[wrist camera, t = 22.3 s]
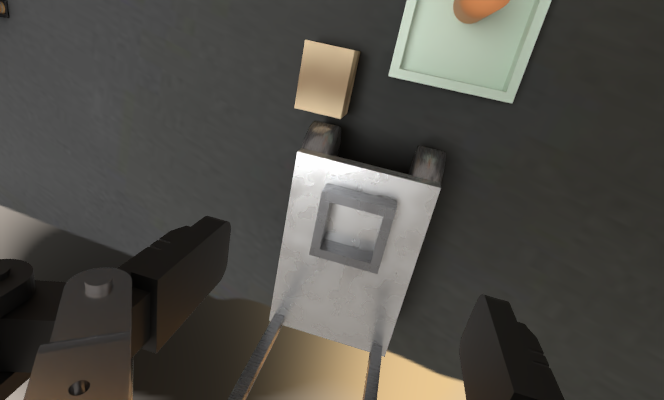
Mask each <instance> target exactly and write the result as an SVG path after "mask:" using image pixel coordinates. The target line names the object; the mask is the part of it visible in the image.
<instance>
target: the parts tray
mask: <svg viewBox="0 0 664 400" xmlns="http://www.w3.org/2000/svg"><path fill="white" fill-rule="evenodd" d="M550 3H551V0H510V1H509V3H508V4H507V5H505V6H504V7H503V8H501V9H500V10H498V11H496V12H494V13H492V14H491V15H489V16H487V17H485V18H483V19H482V20H480V21H478V22H476V23H472V24H466V23H463V22H461V21H459V20H458V19H457V18H456V16H455V14H454V11H453V4H454V0H407V2H406V6H405V10H404V14H403V18H402V22H401V26H400V30H399V35H398V39H397V43H396V47H395V51H394V55H393V59H392V63H391V67H390V71H389V75H388V76H390V77H394V78H399V79H403V80H408V81H412V82H417V83H421V84H426V85H430V86H435V87H439V88H444V89H449V90H453V91H458V92H462V93H467V94H471V95H476V96H480V97H485V98H489V99H494V100H498V101H503V102H507V103H513V100H514V98H515V95H516V93H517V90H518V87H519V85H520V82H521V79H522V77H523V74H524V71H525V69H526V66H527V64H528V61H529V58H530V56H531V53H532V50H533V48H534V45H535V42H536V40H537V37H538V35H539V32H540V29H541V27H542V24H543V21H544V19H545V16H546V13H547V11H548V8H549V6H550Z"/></svg>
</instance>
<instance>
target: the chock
mask: <svg viewBox="0 0 664 400" xmlns="http://www.w3.org/2000/svg"><path fill="white" fill-rule="evenodd" d="M359 56H360V51H355V50H351V49H346V48H342V47H337V46H332V45H328V44H323V43H319V42H314V41H309V40H305V44H304V50H303V56H302V63H301V69H300V75H299V82H298V88H297V94H296V101H295V107H294V108H297V109H301V110H305V111H309V112H313V113H318V114H322V115H326V116H330V117H334V118H338V119H341V118H342V117H344V116H345V115H346V114H347V112H348V108H349V103H350V98H351V94H352V89H353V84H354V80H355V75H356V70H357V66H358V61H359Z"/></svg>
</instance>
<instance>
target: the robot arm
mask: <svg viewBox="0 0 664 400" xmlns="http://www.w3.org/2000/svg"><path fill="white" fill-rule="evenodd" d="M230 231H231V226H230V223H229V222H227V221H224V220H220V219H217V218H213V217H210V216H205V217H204V218H202V219H201V220H200V221H198V222H197V223H195V224H194V225H193V226H191V227H189V226H184V227H181V228H178V229H175V230H172V231H170V232H168V233H167V234H166V235H164V236H163V237H161V238H160V239H159V241H158V240H157V241H156V242H154V243H153V244H151V245H150V247H147V248H146V249H144V250H143V251H141V252H140V253H138V254H137V255H136V256H134V257H133V258H131V259H130V260H128V261H127V262H125V263H124V264H123V265H121V266H120V267H118V268H117V269H116V268H95V269H90V270H87V271H84V272H81V273H79V274H77V275H75V276H73V277H72V278H71V279H69V280H68V281H67V282H52V281H38V280H35V279H34V272H33V268H32V266H31V265H30V264H29V263H27V262H24V261H22V260H16V259H0V400H5V399H6V398H7V397H8V396H9V395H11V394H12V393H13V392H14V391H15V390H16V389H17V388H18V387H20V386H21V385H22V384H23V383H24V382H25V381H26V380H28V379H29V378H30V379H29V383H28V387H27V390H26V393H25V397H24V400H133V356H134V355H135V354H136V353H137V352H138V351H139V350H140V349H141V348H142V349H145V350H148V351H151V352H153V353H157V352H158V351H159V350H160V349H161V348H162V346H163V345H164V344H165V343H166V342H167V341H168V340H169V338H170V337H171V336H172V335H173V334H174V333H175V332H176V331H177V329H178V328H179V327H180V326H181V325H182V324H183V323H184V321H185V320H186V319H187V318H188V317H189V316H190V315H191V314H192V312H193V311H194V310H195V309H196V308H197V307H198V306H199V304H200V303H201V302H202V301H203V300H204V299H205V298H206V296H207V295H208V294H209V293H210V292H211V291H212V290H213V289H214V287H215V286H216V285H217V284H218V283H219V282H220V280H221V279H222V277H223V275H224V273H225V270H226V266H227V260H228V250H229V241H230ZM459 355H460V362H461V368H462V374H463V381H464V387H465V394H466V400H564V398H563V395H562V393H561V391H560V389H559V386H558V384H557V382H556V380H555V377H554V375H553V373H552V371H551V368H549V364H548V362H547V359H546V357H545V356H543V350H542V348H541V346H540V344H539V341H538V339H537V338H536V337H535V335H534V334H533V333H532V332H531V331H530V330H529V329H528V328H527V326H526V325H525V324H523V323H520V322H517V320H516V318H515V315H514V313H513V310H512V308H511V305H510V303H509V302H507V301H504V300H501V299H497V298H493V297H490V296H486V295H480V296H479V298H478V300H477V302H476V304H475V306H474V309H473V311H472V313H471V316H470V318H469V320H468V323H467V325H466V327H465V330H464V332H463V334H462V337H461V342H460V349H459Z"/></svg>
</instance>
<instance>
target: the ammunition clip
mask: <svg viewBox="0 0 664 400" xmlns="http://www.w3.org/2000/svg"><path fill="white" fill-rule="evenodd" d="M0 17H7V18H8V10H7V3H6V0H0Z"/></svg>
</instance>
